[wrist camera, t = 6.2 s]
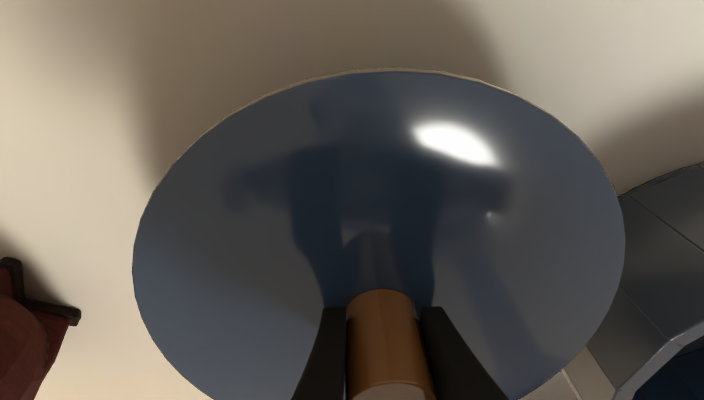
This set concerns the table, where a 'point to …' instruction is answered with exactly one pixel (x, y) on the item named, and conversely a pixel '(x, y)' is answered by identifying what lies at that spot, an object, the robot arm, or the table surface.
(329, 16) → the table surface
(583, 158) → the lid
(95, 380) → the table surface
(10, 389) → the mate gourd
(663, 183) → the pot
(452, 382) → the robot arm
